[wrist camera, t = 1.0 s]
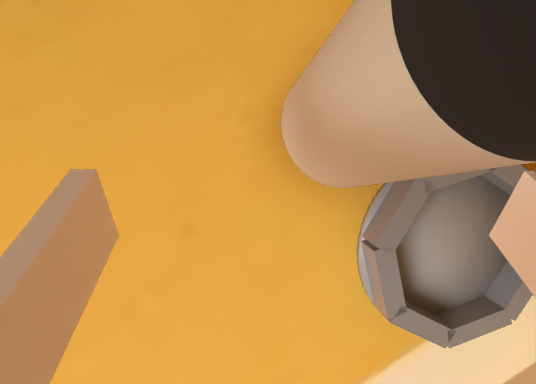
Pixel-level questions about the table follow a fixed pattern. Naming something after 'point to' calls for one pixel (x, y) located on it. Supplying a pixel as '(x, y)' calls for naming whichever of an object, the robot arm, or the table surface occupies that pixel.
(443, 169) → the travel mug
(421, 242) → the socket ring
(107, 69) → the table surface
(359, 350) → the table surface
